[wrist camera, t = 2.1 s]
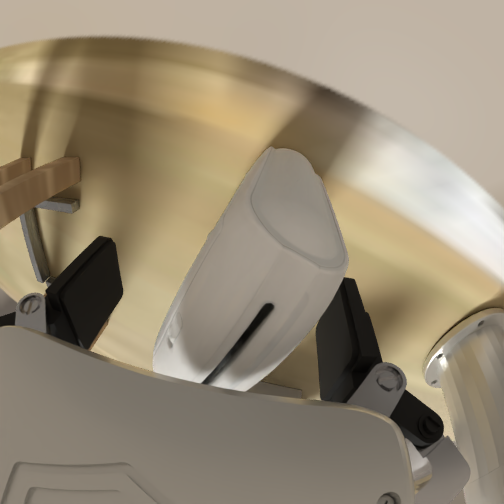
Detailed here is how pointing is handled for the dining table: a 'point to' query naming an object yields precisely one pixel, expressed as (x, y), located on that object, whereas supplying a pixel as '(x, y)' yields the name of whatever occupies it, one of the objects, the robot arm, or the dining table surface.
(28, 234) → the seat guides
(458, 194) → the dining table surface
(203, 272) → the photo printer
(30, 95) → the dining table surface
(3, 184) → the wooden display stand
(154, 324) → the dining table surface
